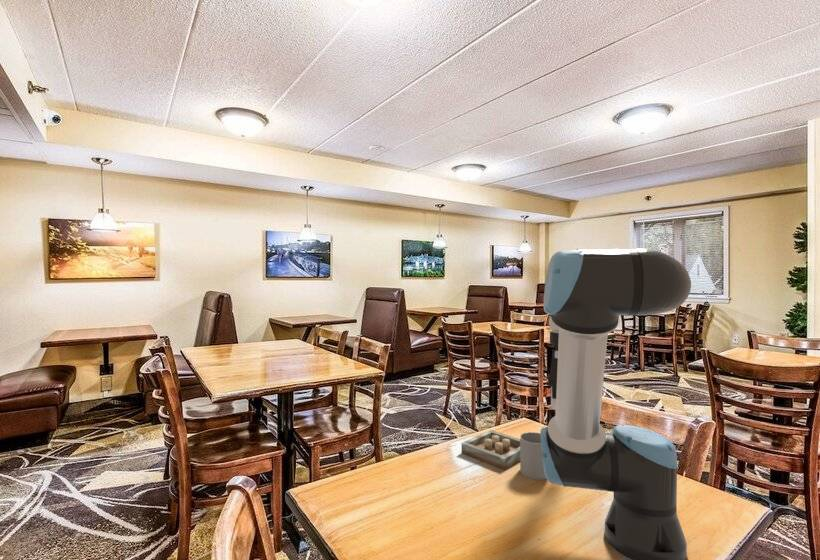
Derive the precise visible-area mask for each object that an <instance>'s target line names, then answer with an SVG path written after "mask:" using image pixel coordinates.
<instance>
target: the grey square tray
mask: <svg viewBox="0 0 820 560" xmlns="http://www.w3.org/2000/svg"><path fill="white" fill-rule="evenodd" d="M461 454H463V455H465V456H469V457H471V458H473V459H475V460H478V461H481V462H484V463H486V464H489V465H491V466H494V467H496V468H499V469H501V470H504V471H505V470H508V468H510V467H512V466H514V465H515V464H517V463H520V438H517V437H514V436H511V435H508V434H505V433H503V432H502V433H501V432H499V431H495V430H492V429H489V430H488V431H486V432H485V431H484V432H483V433H481V434H478V435H476V436H474V437H472V438H469V439H467V440H464V441H463V442H461Z"/></svg>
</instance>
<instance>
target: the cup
mask: <svg viewBox="0 0 820 560" xmlns="http://www.w3.org/2000/svg"><path fill="white" fill-rule="evenodd" d="M519 437H520V438H519V439H520V461H519V465H520V467H519V472H520V474H521V475H522V476H524V477H526V478H528V479H532V480H538V481H539V480H541V481H542V480H547V479H546V476H545V472H544V465H543V456H542V448H541V432H536V431H535V432H533V431H532V432H524V433H522V434H520V436H519Z"/></svg>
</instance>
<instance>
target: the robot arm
mask: <svg viewBox="0 0 820 560" xmlns="http://www.w3.org/2000/svg"><path fill="white" fill-rule="evenodd" d="M546 270H547V271H546V273H545V274H546V276H545V282H544V291H543V292H544V293H543V302H542V303H543V304H542V305H543V312H545V314H547V315H549V330H550V332H549V343H550V345H552V346H554V347H555V350H552V352H551V362H550V369H549V376H548V381H547V387H550V410H553V411H555V415H554V416H553V417H552V418H551V419H550V420H549V422H548V425H547V426H546V427H542V428H541V429H540V433H541V448H542V456H543V465H544V472H545V476H546V479H545V480H546V481H548V482H549V484H552V485H558V486H563V488H565V487H566V488H567V487H568V488H575V489H576V488H577V489H585V490H595V491H604V492H611V493H613V499H612V501H611V504H610V507H609V509H608V512H607V515H606V518H605V520H604V536H605V539H606V540H607V542H608V543H609V545H611V547H613V549H615V550H616V551H618V552H619V553H620V554H622V555H624V556H626V557H628V558H630V559H632V560H686V559H687V554H688V549H687V547H688V546H687V540H686V537H685V535H684V531H683V529H682V525H681V522H680V519H679V516H678V513H677V512H678V511H677V510H678V509H677V501H678V500H677V498H678V497H677V494H678V492H677V490H678V489H677V488H678V487H677V486H678V485H677V482H678V468H679V465H678V459H677V458H678V457H677V448H676V446H675V445H674V443H673V442H672V441H671V440H670V439H669V438H667V437H665V436H664V435H662V434H660V433H658V432H655V431H653V430H650V429H647V428H644V427H640V426H638V425H637V426H636V425H629V424H622V425H620V424H619V425H616V426H615V427H614V428H613V430H612V433H608V432H606V431H605V429H604V427H603V426H602V424H600V421H601V413H602V411H601V409H602V398H603V389H604V380H605V379H604V377H605V371H606V370H605V368H606V358H607V357H606V356H607V345H608V337H609V334H611V332H613V331H615V330H616V329H617V328H618V326H619V322H620V321H619V319H620V316H627V317H630V316H631V317H632V316H650V315H658V314H659V315H660V314H663V313H668V312H670V311H674V310H675V309H677V308H679V307H680V306H682V305H683V303H685V301H686V300H687V299H688V297H689V296H690V293H691V289H692V280H691V277H690V274H689V272H688V270H687V269H686V267H685V266H684V264H682V263H681V262H680V261H679V260H677V259H676V258H674V257H673V256H671V255H669V254H666V253H664V252H662V251H659V250H654V249H650V248H628V249H627V248H623V249H621V248H620V249H619V248H614V249H613V248H611V249H607V248H606V249H582V248H576V249H573V250H572V249H570V250H560V251H556V252H555V253H554V254H553V255H552V256H551V258H550V259H549V263H548V266H547V269H546Z"/></svg>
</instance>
